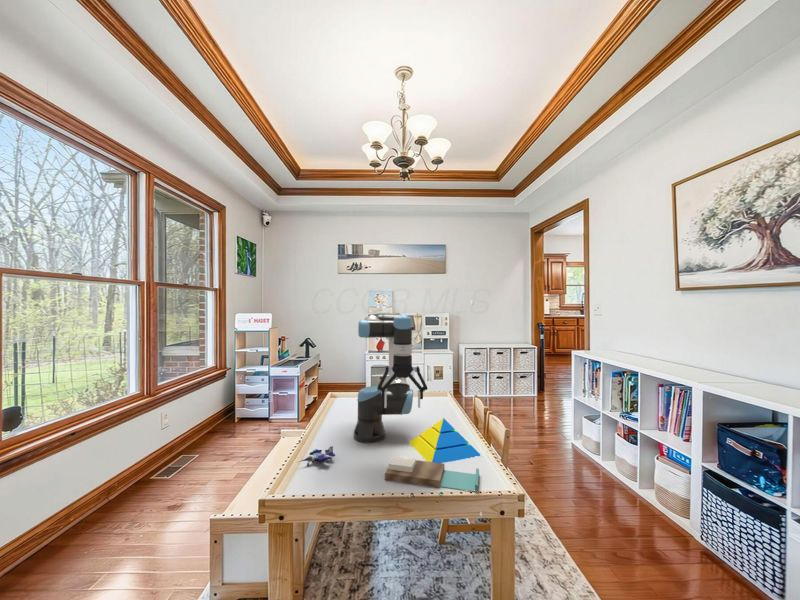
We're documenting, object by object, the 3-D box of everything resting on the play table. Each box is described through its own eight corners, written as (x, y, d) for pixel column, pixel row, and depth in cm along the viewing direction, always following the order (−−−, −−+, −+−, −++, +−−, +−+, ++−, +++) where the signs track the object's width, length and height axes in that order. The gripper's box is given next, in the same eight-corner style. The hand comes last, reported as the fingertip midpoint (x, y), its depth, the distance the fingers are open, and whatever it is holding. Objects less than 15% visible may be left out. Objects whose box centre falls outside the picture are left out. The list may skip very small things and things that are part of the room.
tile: (388, 469, 128) (388, 463, 128) (393, 460, 135) (393, 455, 135) (412, 472, 126) (412, 467, 126) (416, 463, 133) (416, 458, 133)
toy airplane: (294, 469, 132) (294, 460, 132) (310, 454, 146) (310, 445, 146) (325, 473, 130) (326, 463, 130) (339, 457, 144) (339, 448, 144)
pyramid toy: (430, 467, 136) (430, 431, 136) (406, 443, 160) (406, 412, 160) (483, 457, 145) (484, 423, 145) (453, 436, 169) (454, 406, 169)
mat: (439, 487, 121) (439, 479, 121) (444, 470, 132) (444, 464, 132) (477, 492, 117) (477, 485, 117) (478, 475, 129) (479, 468, 129)
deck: (384, 479, 125) (384, 473, 125) (394, 463, 138) (394, 457, 138) (439, 487, 120) (439, 480, 120) (444, 470, 133) (444, 463, 133)
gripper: (371, 355, 136) (370, 409, 136) (434, 356, 136) (434, 409, 136) (372, 353, 143) (372, 404, 143) (432, 353, 144) (432, 404, 143)
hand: (402, 407), depth 140 cm, fingers open, 13 cm apart
